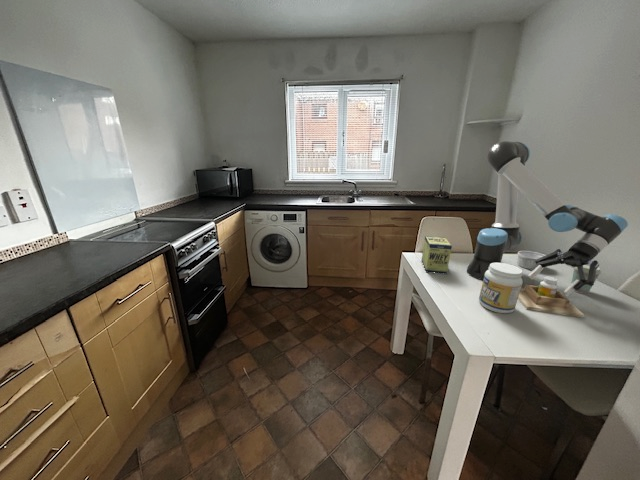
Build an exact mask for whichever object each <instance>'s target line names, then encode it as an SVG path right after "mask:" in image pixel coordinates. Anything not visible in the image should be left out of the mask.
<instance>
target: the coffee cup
mask: <svg viewBox="0 0 640 480" xmlns="http://www.w3.org/2000/svg"><path fill="white" fill-rule="evenodd" d="M589 268H590V265H589V264H587V265H583V270H584V275H585V279H586V280H587V279H588V273H589ZM601 274H602V271H601V268H600V266H599V267H598V268H597V269H596V274H595V280H594V283H596V280H597V279H598V277H599V276H600V275H601ZM576 279H577V280H579V281H580V278H579V273H578V268H577V267H573V272H572V277H571V284H572V283H573V282H574V281H575V280H576ZM571 284H570V285H571ZM592 287H593V286H590V285H584V286H582V287H581V288H580V289H579V290H574V291H573V292H576V293H579V294H585V295H586V294H589V293H590V290H591V289H592Z"/></svg>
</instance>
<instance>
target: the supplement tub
mask: <svg viewBox="0 0 640 480" xmlns="http://www.w3.org/2000/svg"><path fill="white" fill-rule="evenodd" d="M522 276H523V269H521V268H520V267H517V266H515V265H512V264H509V263H504V262H501V263H491V264H490V266H489V270H487V271H486V272H485V275H484V279H483V280H482V285H481V288H480V292H479V296H478V302H479V303H480V305H481V306H482V307H484V308H486V309H488V310H489V311H492V312H495V313H498V314H511V313H513V312H514V310H515V309H516V305H517V303H518V296H519V293H520V289H522V287H523V286H522V285H523V282H524V281H523V280H524V279H523V278H522Z"/></svg>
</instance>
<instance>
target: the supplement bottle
mask: <svg viewBox="0 0 640 480" xmlns="http://www.w3.org/2000/svg"><path fill="white" fill-rule="evenodd" d="M557 283H558V279H557V278H556V277H553V276H549V275H548V276H544V277H543V281H540V282H539V285H538V286H539V288H538V291H537V293H538V294H539V295H540V296H546V297H555V294H556V291H558V289H559V288H558V285H557Z"/></svg>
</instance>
